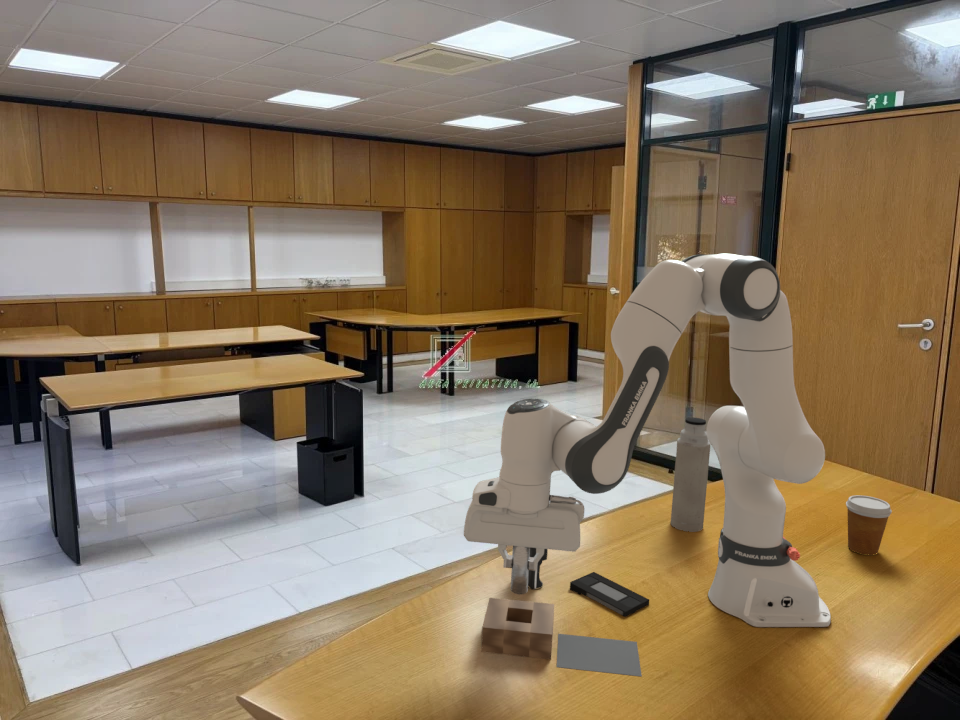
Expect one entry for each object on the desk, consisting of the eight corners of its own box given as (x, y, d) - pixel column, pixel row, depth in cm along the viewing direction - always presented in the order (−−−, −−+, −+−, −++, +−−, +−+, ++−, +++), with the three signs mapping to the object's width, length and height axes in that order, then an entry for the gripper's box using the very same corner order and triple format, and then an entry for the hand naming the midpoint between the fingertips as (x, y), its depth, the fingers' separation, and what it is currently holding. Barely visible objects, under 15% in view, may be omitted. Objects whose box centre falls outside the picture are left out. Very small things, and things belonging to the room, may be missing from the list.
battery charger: (548, 588, 142) (550, 536, 140) (531, 591, 141) (534, 539, 139) (532, 572, 149) (534, 523, 147) (516, 575, 147) (518, 525, 145)
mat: (636, 643, 124) (636, 641, 123) (641, 678, 114) (641, 676, 114) (558, 635, 125) (558, 633, 125) (556, 669, 116) (556, 666, 116)
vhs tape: (624, 621, 132) (625, 611, 131) (569, 591, 142) (569, 582, 142) (648, 608, 136) (649, 599, 136) (593, 580, 147) (593, 571, 147)
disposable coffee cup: (842, 553, 162) (848, 505, 160) (838, 538, 171) (844, 492, 169) (888, 561, 159) (895, 512, 156) (882, 545, 167) (888, 498, 165)
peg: (528, 586, 123) (531, 534, 121) (527, 595, 120) (529, 541, 118) (511, 585, 123) (514, 532, 121) (509, 593, 120) (512, 539, 118)
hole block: (553, 629, 127) (554, 604, 127) (550, 661, 118) (552, 634, 117) (488, 622, 129) (489, 597, 128) (481, 653, 119) (482, 627, 118)
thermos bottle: (675, 516, 181) (684, 413, 176) (706, 523, 177) (716, 418, 172) (666, 526, 175) (674, 419, 170) (698, 534, 170) (707, 425, 166)
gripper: (585, 491, 120) (580, 565, 123) (469, 481, 123) (466, 554, 125) (585, 505, 114) (580, 582, 116) (463, 494, 117) (460, 570, 119)
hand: (520, 567), depth 121 cm, fingers closed on peg, 3 cm apart
